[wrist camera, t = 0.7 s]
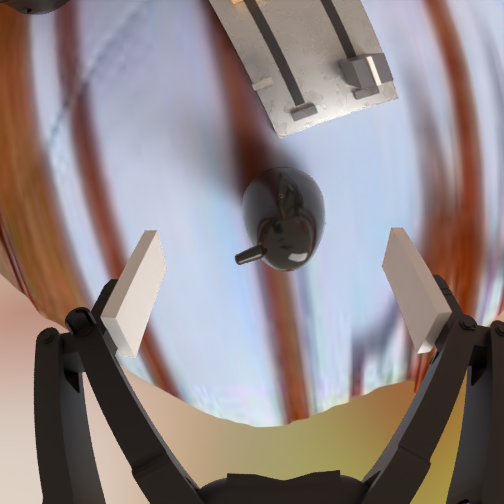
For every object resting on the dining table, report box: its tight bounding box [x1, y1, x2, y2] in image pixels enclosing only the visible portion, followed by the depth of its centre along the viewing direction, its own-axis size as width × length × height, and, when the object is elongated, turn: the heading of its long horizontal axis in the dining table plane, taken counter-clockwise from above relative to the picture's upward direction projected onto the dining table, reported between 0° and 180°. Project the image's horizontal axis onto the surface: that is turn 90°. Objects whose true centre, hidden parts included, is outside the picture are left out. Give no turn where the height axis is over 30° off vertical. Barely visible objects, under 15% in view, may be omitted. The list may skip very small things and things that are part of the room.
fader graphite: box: [338, 53, 393, 89], centre depth 27 cm, size 3×4×6 cm
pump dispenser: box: [235, 167, 325, 272], centre depth 36 cm, size 10×10×15 cm
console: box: [209, 0, 398, 139], centre depth 28 cm, size 24×16×3 cm
